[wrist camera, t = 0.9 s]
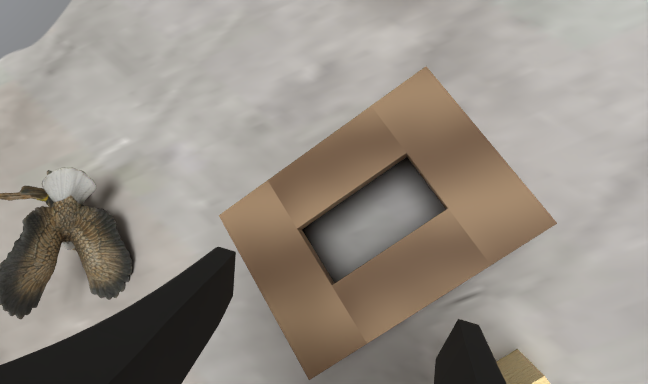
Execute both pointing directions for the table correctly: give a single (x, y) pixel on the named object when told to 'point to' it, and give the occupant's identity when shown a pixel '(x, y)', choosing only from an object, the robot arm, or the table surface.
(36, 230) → the eagle figurine
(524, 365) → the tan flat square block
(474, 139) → the box
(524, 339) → the table surface
